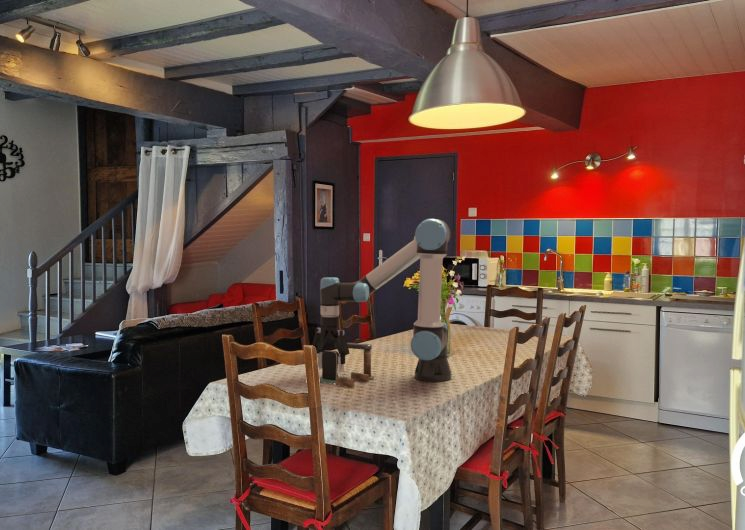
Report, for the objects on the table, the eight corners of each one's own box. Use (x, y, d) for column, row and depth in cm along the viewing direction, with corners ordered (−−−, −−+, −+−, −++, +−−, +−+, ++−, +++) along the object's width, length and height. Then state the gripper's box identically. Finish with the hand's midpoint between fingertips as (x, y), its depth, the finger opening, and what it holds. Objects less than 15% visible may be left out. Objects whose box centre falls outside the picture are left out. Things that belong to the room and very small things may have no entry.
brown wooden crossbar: (368, 350, 258) (368, 346, 258) (333, 347, 266) (333, 342, 266) (373, 349, 261) (373, 344, 261) (338, 345, 269) (338, 341, 269)
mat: (347, 379, 259) (347, 377, 259) (332, 384, 251) (332, 382, 251) (328, 376, 265) (328, 374, 265) (312, 381, 257) (312, 379, 257)
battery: (340, 378, 258) (340, 350, 257) (335, 380, 254) (335, 352, 254) (326, 376, 261) (326, 349, 261) (321, 378, 258) (321, 350, 258)
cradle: (379, 378, 261) (378, 350, 260) (352, 387, 245) (352, 358, 244) (362, 376, 265) (362, 348, 265) (335, 385, 249) (335, 356, 249)
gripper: (302, 314, 260) (302, 368, 261) (347, 318, 247) (347, 375, 248) (313, 312, 266) (314, 365, 267) (358, 316, 254) (358, 371, 255)
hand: (330, 370), depth 258 cm, fingers open, 10 cm apart
